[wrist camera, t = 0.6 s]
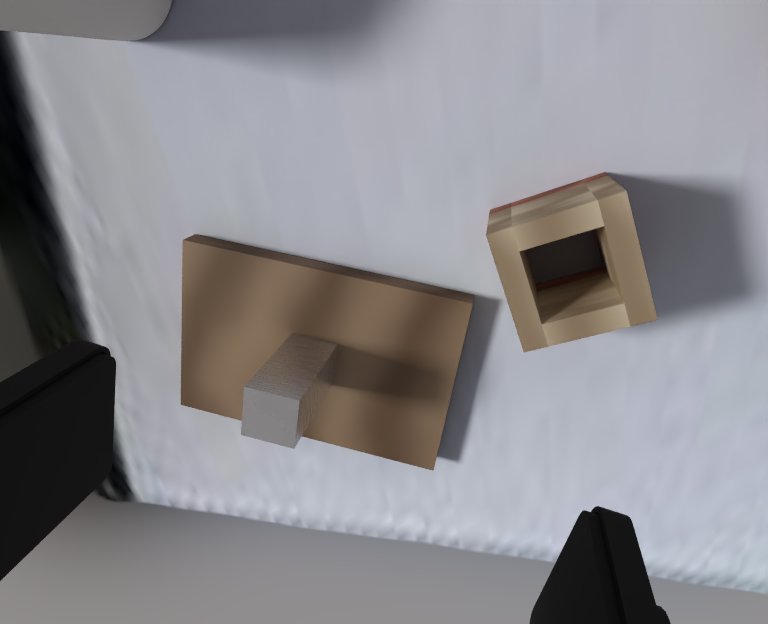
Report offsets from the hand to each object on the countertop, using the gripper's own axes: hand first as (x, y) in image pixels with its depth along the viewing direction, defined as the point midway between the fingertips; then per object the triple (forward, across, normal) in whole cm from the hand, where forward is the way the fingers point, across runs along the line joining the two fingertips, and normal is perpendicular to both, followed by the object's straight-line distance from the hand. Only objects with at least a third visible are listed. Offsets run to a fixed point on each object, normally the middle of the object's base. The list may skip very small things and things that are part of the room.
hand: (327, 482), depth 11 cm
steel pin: (+22, +6, +11) cm, 25 cm away
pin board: (+23, +6, +10) cm, 26 cm away
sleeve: (+23, -6, 0) cm, 24 cm away
